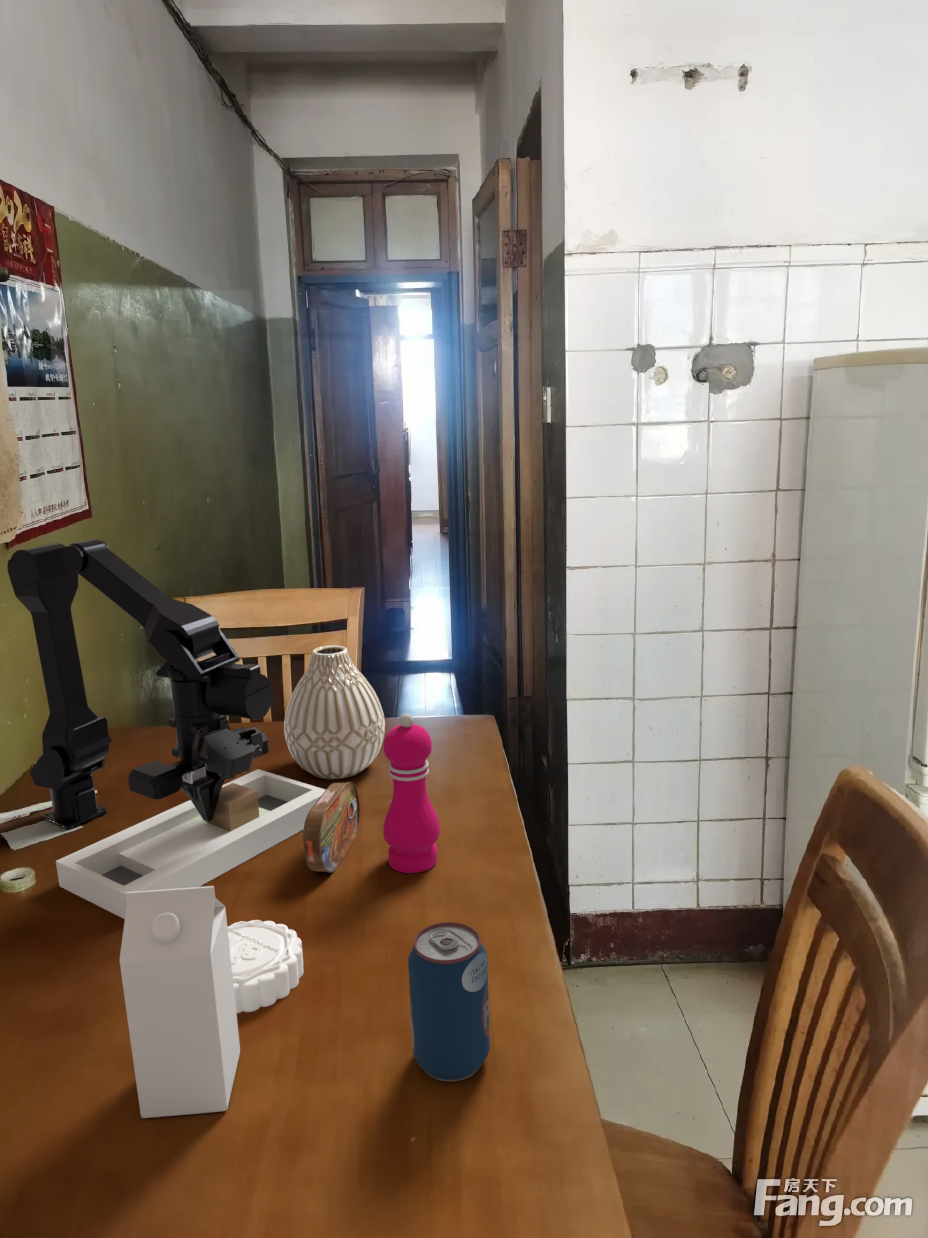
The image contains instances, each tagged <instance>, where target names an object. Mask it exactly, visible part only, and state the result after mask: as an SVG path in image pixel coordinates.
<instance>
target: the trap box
mask: <svg viewBox="0 0 928 1238" xmlns="http://www.w3.org/2000/svg"><path fill="white" fill-rule="evenodd" d="M231 783H235V784H238V785H241V786H244V787H247V788H250V789H253V790H256V791H257V795H258V806H259V817H258V818H256V819H254V820H252V821H250V822H248V823H246V824H244V825H242V826H240V827H239V828H237V829H235V830H233V831H231V832H230V831H228V830H225V829H222V828H220V827H217V826H214V825H212V824H209V823H207V822H206V821H204V820H203V818H202V817H201V815H200V814H199V812H198V811H197V809H196V808H195V806H194V804H193V803H192V801H191V800H190V799H189V800H187V801H184V802H182V803H180V804H178V805H175V806H173V807H172V808H169V809H167V810H164V811H163V812H161V813H159V814H156V815H154V816H152V817H149V818H147V819H145V820H142V821H141V822H139V823H136V824H134V825H132V826H130V827H127V828H125V829H123V830H120V831H119V832H117V833H114V834H112V835H110V836H108V837H105V838H103V839H101V840H98V841H97V842H95V843H91V845H87V846H85V847H84V848H81V849H79V850H77V851H74V852H73V853H70V854H68V855H66V856H63V857H61V858H60V859H57V860H55V864H56V865H55V867H56V872H57V879H58V884H59V887H60V888H63V889H64V890H66V891H68V892H70V893H72V894H74V895H76V896H78V897H79V898H82V899H83V900H86V901H88V902H90V903H92V904H93V905H96V906H97V907H100V908H102V909H104V910H105V911H107V912H110V913H111V914H113V915H115V916H118V917H119V918H122V919H123V920H125V915H126V907H127V902H126V892H133V891H148V890H162V889H176V888H191V887H202V886H203V885H205V884H207V883H208V882H211V881H213V880H214V879H216V878H217V877H219V876H221V875H223V874H225V873H227V872H229V871H230V870H232V869H234V868H236V867H239V866H240V865H242V864H243V863H244V862H247V861H248V860H250V859H252V858H254V857H256V856H257V855H260V854H262V853H263V852H265V851H266V850H268V849H271V848H273V847H274V846H276V845H277V844H279V843H281V842H283V841H284V840H287V839H288V838H291V837H292V836H294V835H295V834H296V835H297V834H298V833H299V832H301V831H303V829H304V824H305V820H306V817H307V814H308V813H309V811H310V810H311V808H312V807H313V806H314V804H315V803H316V802H317V801H318V799H319V798H320V797H321V795H322V794H323V793H324V792H325V790H326V788H322V787H318V786H315V785H313V784H308V783H305V782H301V781H299V780H295V779H291V778H289V777H286V776H283V775H278V774H275V773H273V772H268V771H265V770H262V769H259V768H257V769H256V770H253V771H251V772H249V773H247V774H244V775H242V776H240V777H238V778H235V779H232V780H231V781H229V782H227V783H225V784H224V783H223V786H222V787H225V786H227V785H229V784H231Z"/></svg>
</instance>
